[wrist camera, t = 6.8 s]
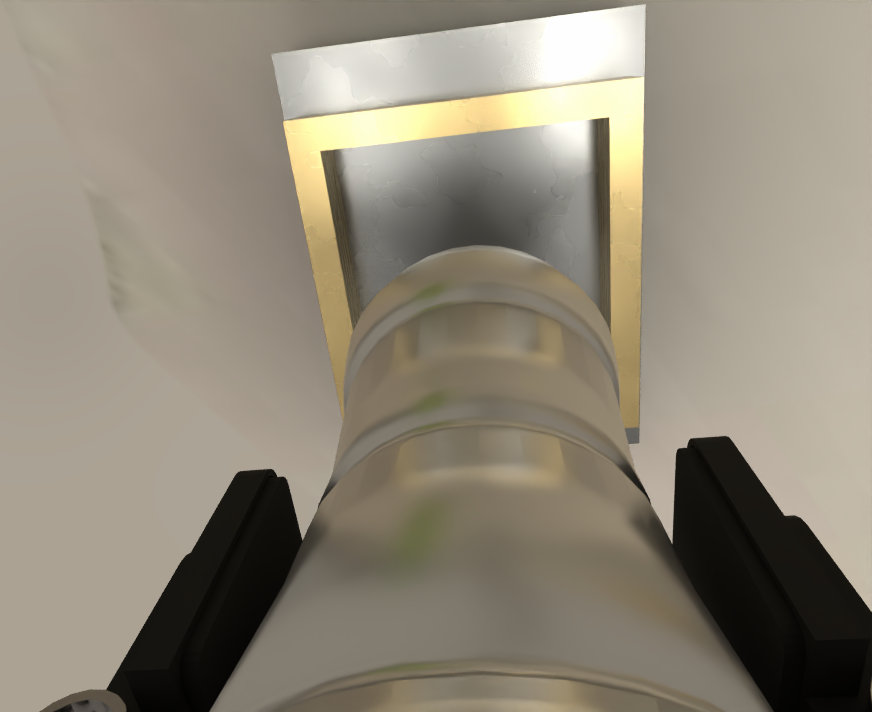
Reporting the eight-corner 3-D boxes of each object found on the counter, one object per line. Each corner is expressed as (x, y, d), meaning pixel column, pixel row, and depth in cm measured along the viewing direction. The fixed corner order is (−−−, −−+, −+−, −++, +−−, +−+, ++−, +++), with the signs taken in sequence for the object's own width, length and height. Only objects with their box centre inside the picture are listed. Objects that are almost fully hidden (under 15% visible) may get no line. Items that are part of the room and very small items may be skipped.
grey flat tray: (293, 55, 24) (252, 52, 19) (624, 11, 23) (662, -2, 18) (363, 427, 30) (344, 492, 26) (623, 407, 29) (651, 471, 25)
